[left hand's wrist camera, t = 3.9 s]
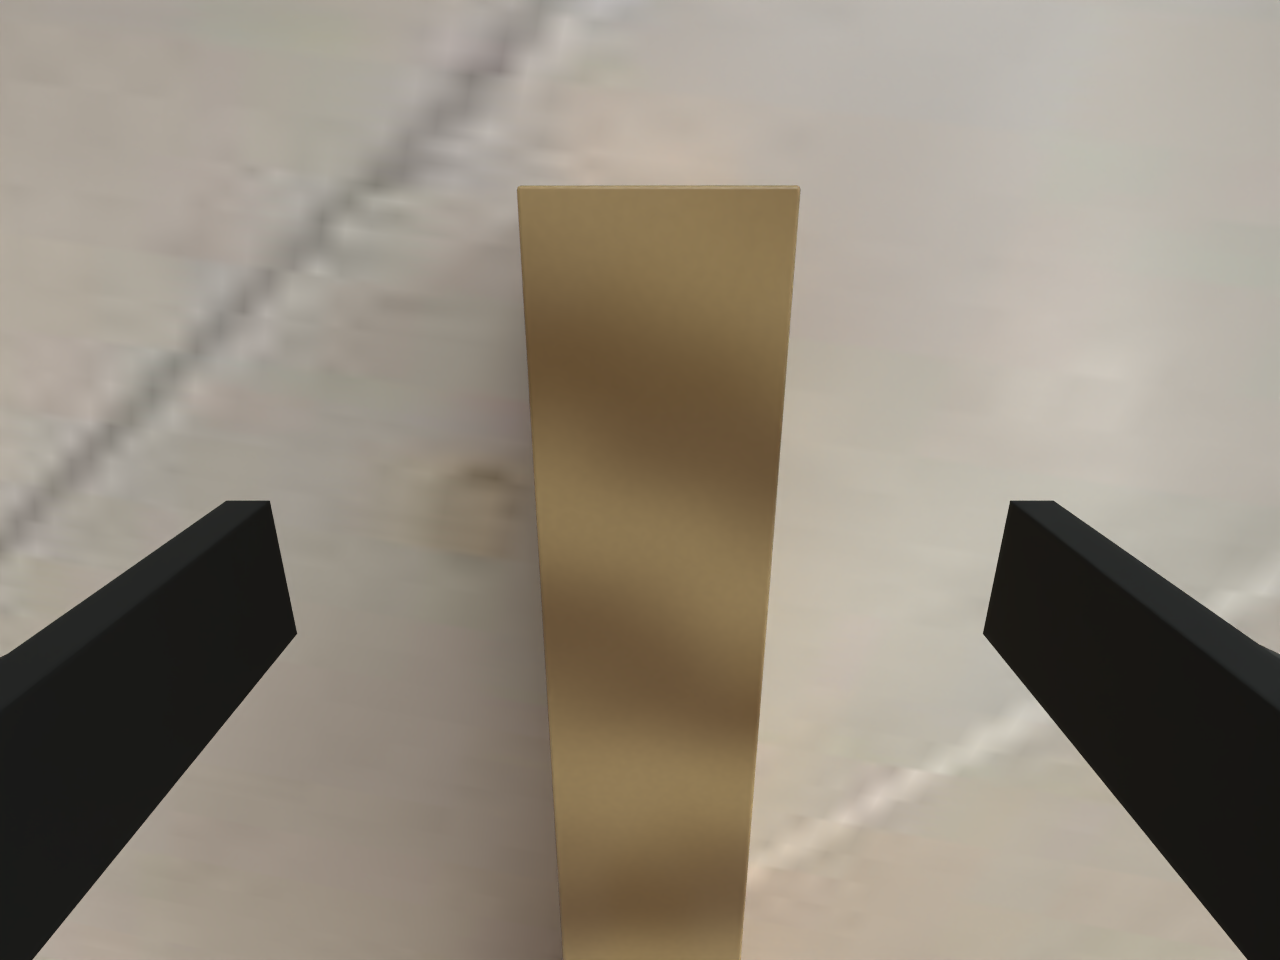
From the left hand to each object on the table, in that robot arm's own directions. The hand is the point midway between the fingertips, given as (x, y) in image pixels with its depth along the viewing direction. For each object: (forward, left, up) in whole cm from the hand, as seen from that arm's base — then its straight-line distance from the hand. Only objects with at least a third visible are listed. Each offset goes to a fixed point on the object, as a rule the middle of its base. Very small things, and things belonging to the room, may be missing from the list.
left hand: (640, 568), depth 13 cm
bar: (+22, +10, -10) cm, 26 cm away
